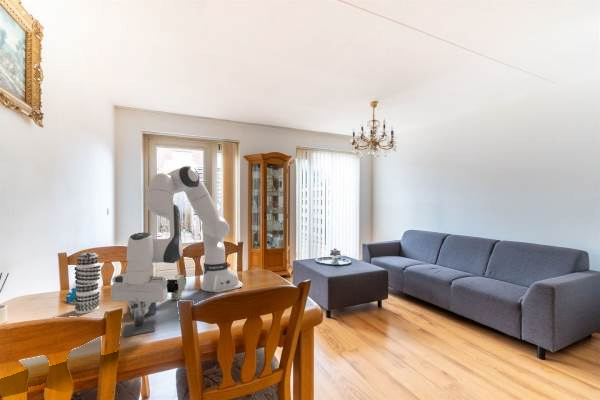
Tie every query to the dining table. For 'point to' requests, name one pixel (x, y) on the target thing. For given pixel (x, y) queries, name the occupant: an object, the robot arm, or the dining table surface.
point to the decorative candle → (87, 282)
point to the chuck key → (138, 313)
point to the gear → (71, 295)
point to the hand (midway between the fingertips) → (139, 312)
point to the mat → (139, 329)
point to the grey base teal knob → (149, 309)
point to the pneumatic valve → (176, 286)
